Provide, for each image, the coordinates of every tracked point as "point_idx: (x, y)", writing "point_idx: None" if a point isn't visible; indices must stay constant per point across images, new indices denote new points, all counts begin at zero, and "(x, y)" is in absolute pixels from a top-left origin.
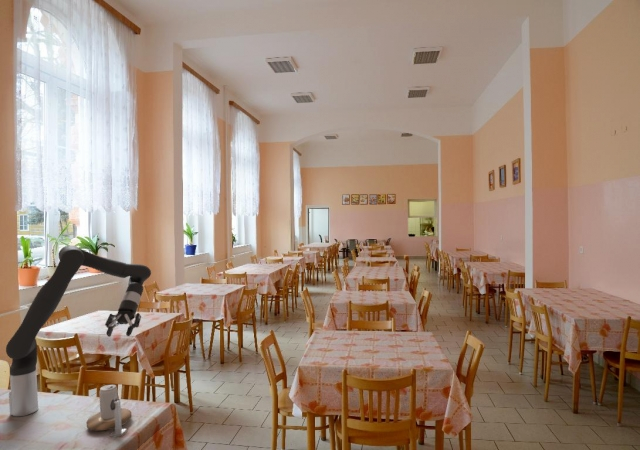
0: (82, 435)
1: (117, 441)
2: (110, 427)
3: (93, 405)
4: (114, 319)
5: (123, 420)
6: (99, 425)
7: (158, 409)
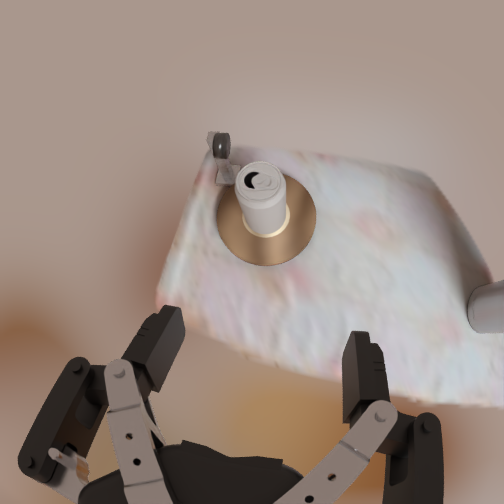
0: (304, 179)
1: None
2: None
3: None
4: (346, 483)
5: (225, 196)
6: None
7: (174, 283)
